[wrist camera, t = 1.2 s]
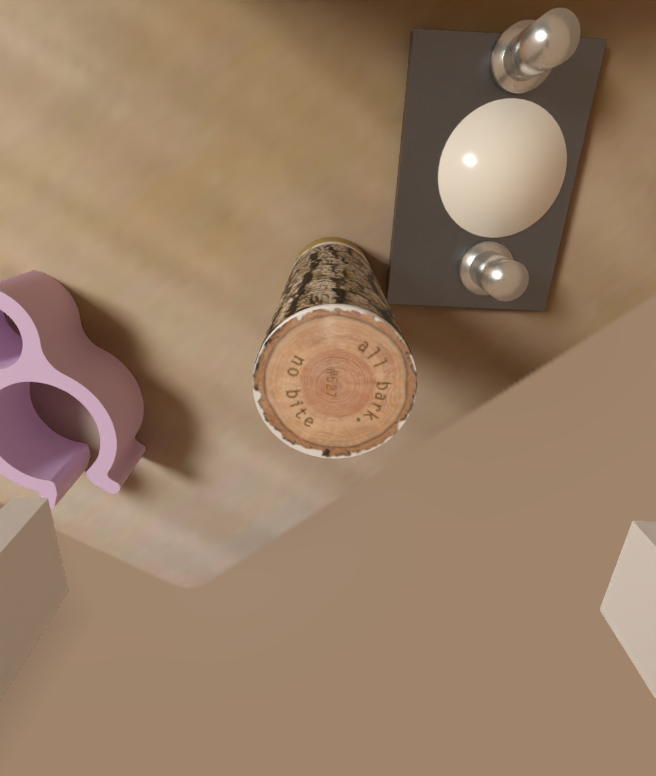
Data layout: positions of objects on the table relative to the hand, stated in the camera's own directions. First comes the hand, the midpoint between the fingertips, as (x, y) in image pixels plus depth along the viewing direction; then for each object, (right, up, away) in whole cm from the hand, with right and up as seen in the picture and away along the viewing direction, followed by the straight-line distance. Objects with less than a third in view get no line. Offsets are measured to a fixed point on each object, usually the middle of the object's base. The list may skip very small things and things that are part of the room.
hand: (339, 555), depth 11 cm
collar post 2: (+14, +28, +24) cm, 39 cm away
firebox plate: (+12, +21, +29) cm, 37 cm away
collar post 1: (+13, +14, +30) cm, 36 cm away
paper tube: (0, +14, +32) cm, 35 cm away
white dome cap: (+13, +21, +27) cm, 37 cm away
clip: (-25, +5, +36) cm, 44 cm away
